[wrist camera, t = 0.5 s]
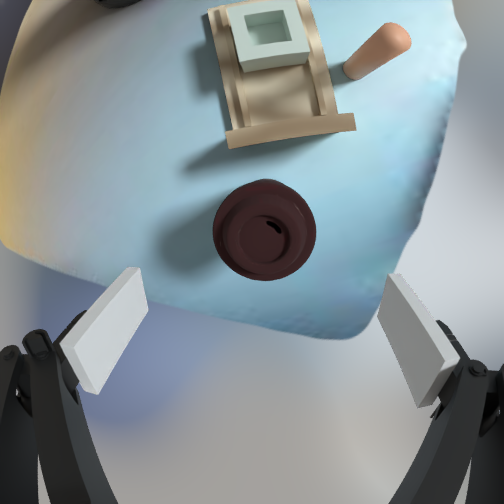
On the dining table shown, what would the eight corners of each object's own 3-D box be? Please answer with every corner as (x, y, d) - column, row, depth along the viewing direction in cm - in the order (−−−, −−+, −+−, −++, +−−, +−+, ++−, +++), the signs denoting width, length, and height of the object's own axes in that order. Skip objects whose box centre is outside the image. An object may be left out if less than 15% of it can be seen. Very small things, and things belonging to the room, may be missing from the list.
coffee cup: (243, 244, 41) (228, 298, 28) (222, 180, 38) (193, 203, 24) (309, 227, 40) (327, 275, 26) (292, 160, 36) (304, 172, 22)
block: (232, 24, 28) (226, 8, 23) (291, 15, 27) (294, -2, 22) (244, 72, 31) (239, 61, 26) (304, 63, 30) (310, 51, 25)
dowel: (340, 59, 30) (376, 21, 16) (361, 59, 30) (405, 24, 16) (345, 80, 31) (385, 50, 17) (366, 79, 31) (415, 52, 17)
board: (208, 12, 28) (194, -12, 21) (305, -3, 26) (311, -30, 19) (237, 147, 36) (228, 149, 29) (339, 132, 34) (356, 130, 27)
